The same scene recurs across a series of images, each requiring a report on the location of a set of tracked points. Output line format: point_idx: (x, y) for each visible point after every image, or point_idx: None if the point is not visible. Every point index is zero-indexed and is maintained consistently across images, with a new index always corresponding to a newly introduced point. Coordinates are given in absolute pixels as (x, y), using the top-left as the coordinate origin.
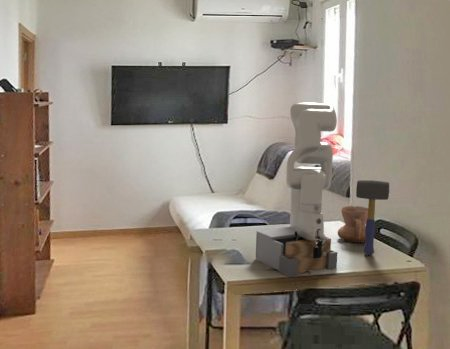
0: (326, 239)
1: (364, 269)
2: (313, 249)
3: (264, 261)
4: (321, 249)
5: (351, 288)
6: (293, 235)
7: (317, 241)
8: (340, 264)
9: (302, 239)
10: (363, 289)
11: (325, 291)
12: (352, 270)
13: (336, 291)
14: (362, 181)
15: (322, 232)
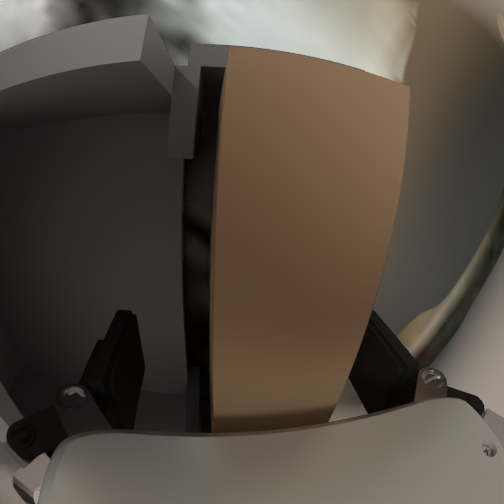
0: (395, 204)
1: (393, 5)
2: (366, 409)
3: None
4: (404, 347)
5: (479, 264)
6: (4, 408)
7: (340, 375)
8: (262, 16)
9: (108, 410)
10: (500, 235)
11: (435, 352)
12: (382, 57)
13: (457, 323)
14: None
15: (497, 471)
